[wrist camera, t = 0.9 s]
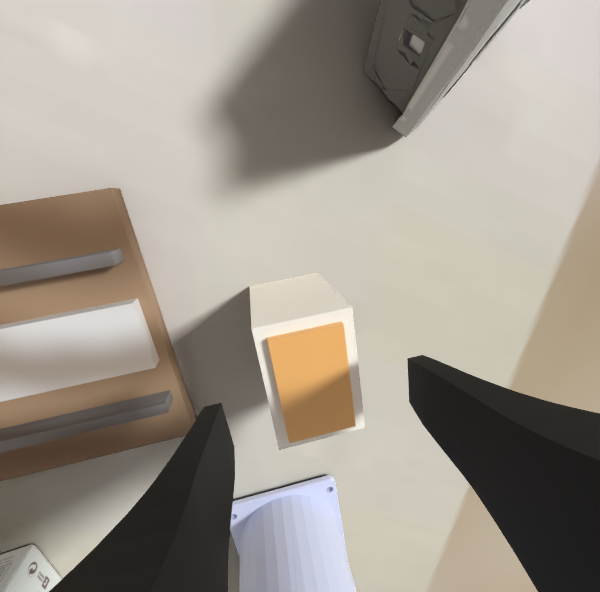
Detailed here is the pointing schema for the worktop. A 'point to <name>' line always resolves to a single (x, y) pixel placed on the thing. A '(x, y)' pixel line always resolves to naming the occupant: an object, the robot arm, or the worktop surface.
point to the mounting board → (80, 337)
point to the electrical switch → (429, 49)
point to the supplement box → (26, 571)
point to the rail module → (307, 358)
